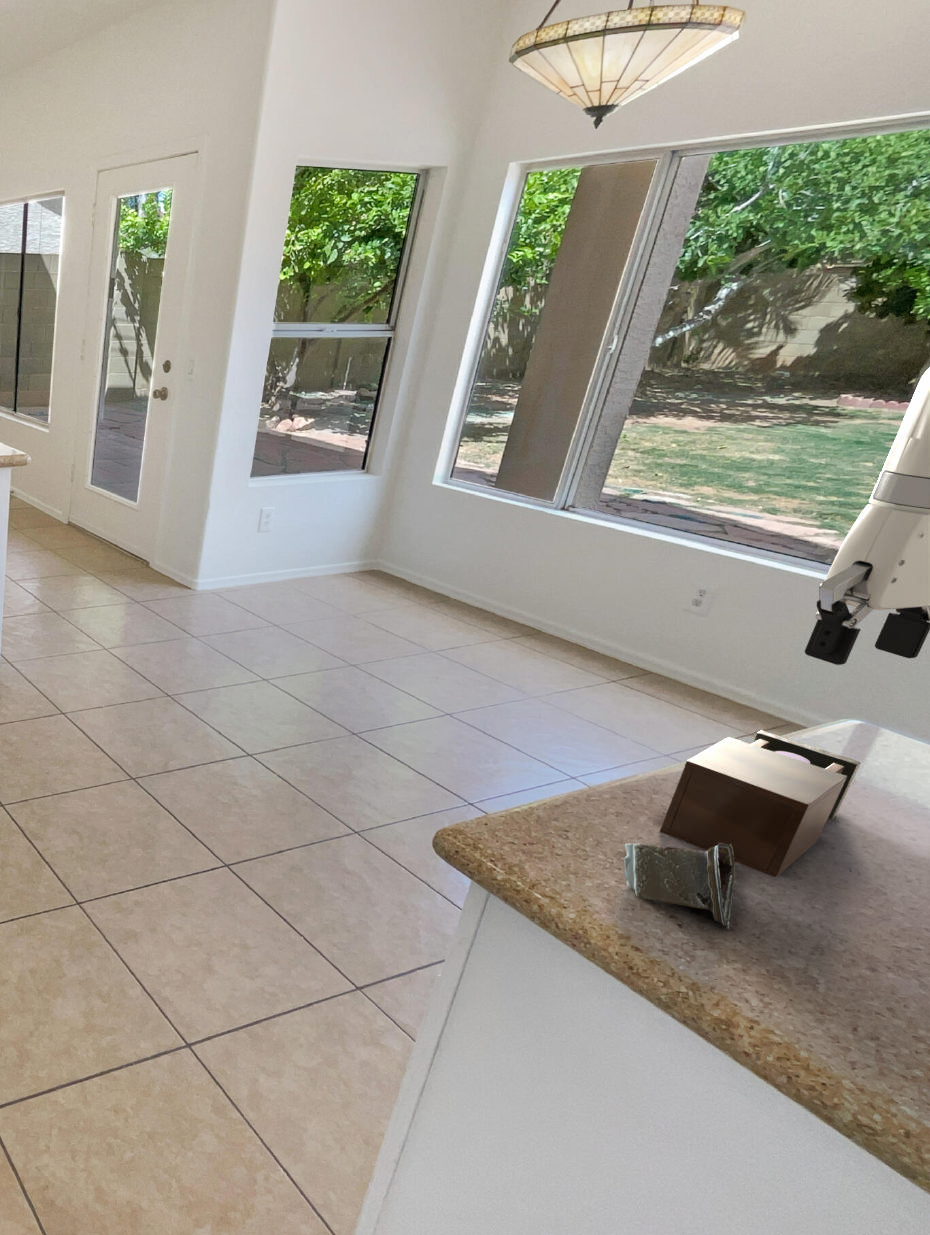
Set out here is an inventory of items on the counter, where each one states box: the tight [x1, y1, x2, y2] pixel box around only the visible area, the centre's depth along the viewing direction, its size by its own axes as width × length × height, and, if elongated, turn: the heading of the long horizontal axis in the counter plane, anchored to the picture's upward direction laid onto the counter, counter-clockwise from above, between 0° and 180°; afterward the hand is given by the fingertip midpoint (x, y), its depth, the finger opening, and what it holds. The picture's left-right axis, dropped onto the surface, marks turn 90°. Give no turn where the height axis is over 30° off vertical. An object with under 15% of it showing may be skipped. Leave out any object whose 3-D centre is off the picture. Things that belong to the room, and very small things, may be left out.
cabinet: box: [659, 736, 847, 878], centre depth 84 cm, size 10×9×8 cm
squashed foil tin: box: [623, 843, 736, 930], centre depth 77 cm, size 10×7×12 cm
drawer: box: [751, 730, 862, 820], centre depth 88 cm, size 14×8×7 cm, turn 120°
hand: (859, 656), depth 87 cm, fingers open, 9 cm apart
